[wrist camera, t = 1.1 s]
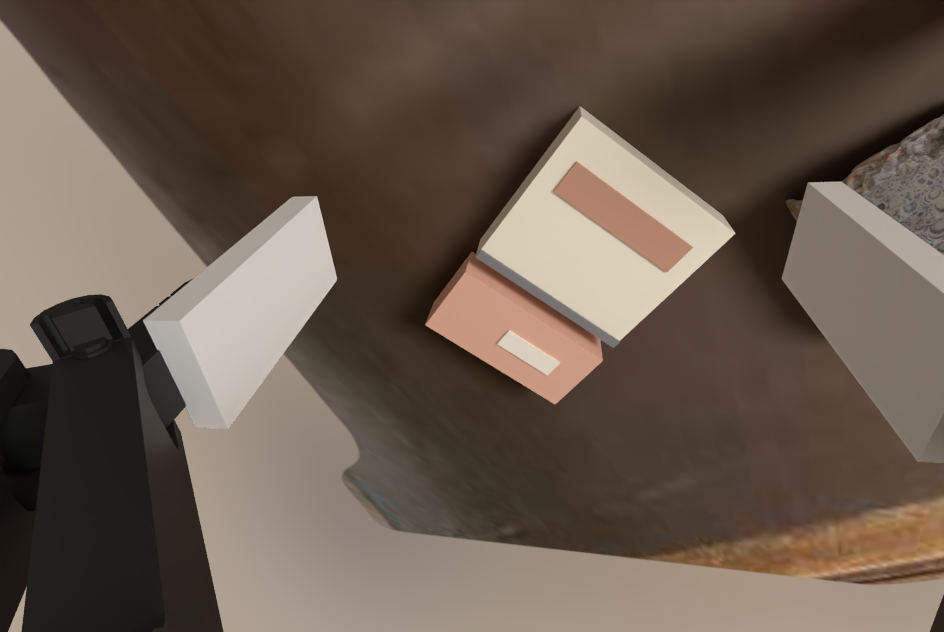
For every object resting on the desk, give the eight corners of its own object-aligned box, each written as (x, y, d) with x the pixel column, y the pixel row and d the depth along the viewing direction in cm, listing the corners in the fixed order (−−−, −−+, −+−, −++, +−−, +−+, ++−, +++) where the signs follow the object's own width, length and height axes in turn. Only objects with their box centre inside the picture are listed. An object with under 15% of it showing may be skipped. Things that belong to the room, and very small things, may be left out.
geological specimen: (1016, 93, 27) (1099, 301, 32) (942, 81, 32) (1022, 261, 37) (806, 214, 32) (904, 381, 36) (771, 187, 37) (860, 335, 41)
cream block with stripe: (480, 239, 41) (474, 258, 38) (579, 105, 35) (581, 117, 32) (609, 324, 44) (612, 348, 41) (722, 215, 37) (736, 234, 35)
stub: (433, 302, 44) (424, 326, 41) (471, 251, 41) (465, 273, 38) (555, 378, 47) (555, 406, 44) (599, 335, 44) (602, 362, 41)
